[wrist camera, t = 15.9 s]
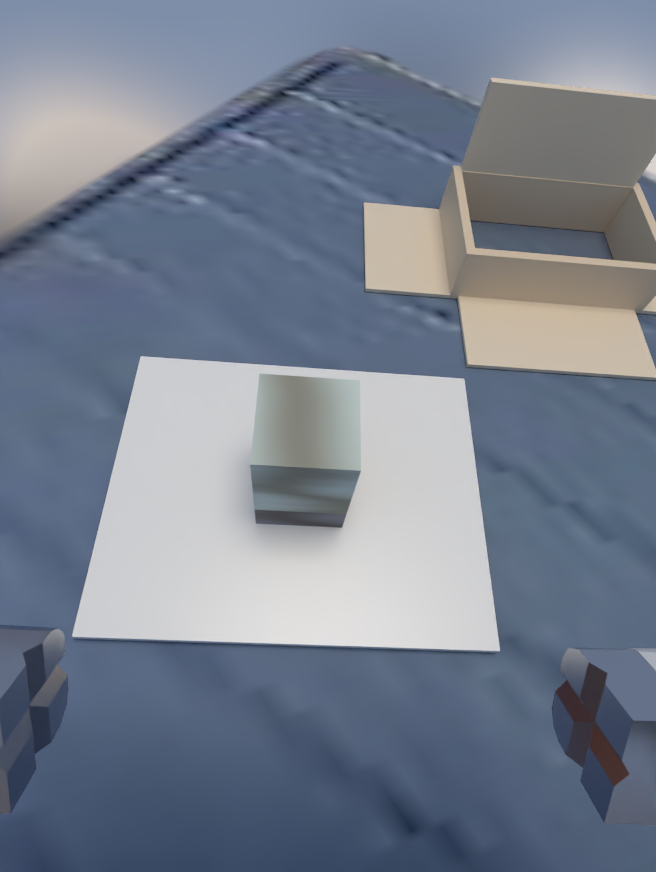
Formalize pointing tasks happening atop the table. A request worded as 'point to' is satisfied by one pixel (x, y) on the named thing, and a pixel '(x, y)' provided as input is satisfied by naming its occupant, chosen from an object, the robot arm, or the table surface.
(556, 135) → the carton
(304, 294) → the table surface
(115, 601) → the white board
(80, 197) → the table surface
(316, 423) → the box
